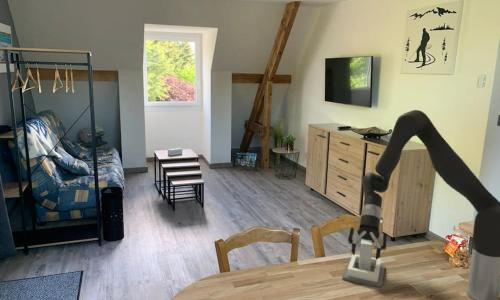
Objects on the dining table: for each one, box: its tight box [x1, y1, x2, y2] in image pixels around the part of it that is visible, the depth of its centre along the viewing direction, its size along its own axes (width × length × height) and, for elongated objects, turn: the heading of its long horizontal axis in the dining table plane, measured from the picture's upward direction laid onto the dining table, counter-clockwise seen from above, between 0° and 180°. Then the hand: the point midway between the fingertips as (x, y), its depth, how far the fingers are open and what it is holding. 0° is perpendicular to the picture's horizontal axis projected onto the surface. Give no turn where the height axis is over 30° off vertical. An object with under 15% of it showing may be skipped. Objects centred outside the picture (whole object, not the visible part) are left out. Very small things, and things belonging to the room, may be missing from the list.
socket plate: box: [341, 253, 386, 288], centre depth 149 cm, size 14×16×4 cm
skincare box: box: [359, 239, 373, 271], centre depth 149 cm, size 6×4×12 cm
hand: (365, 256), depth 147 cm, fingers open, 8 cm apart
